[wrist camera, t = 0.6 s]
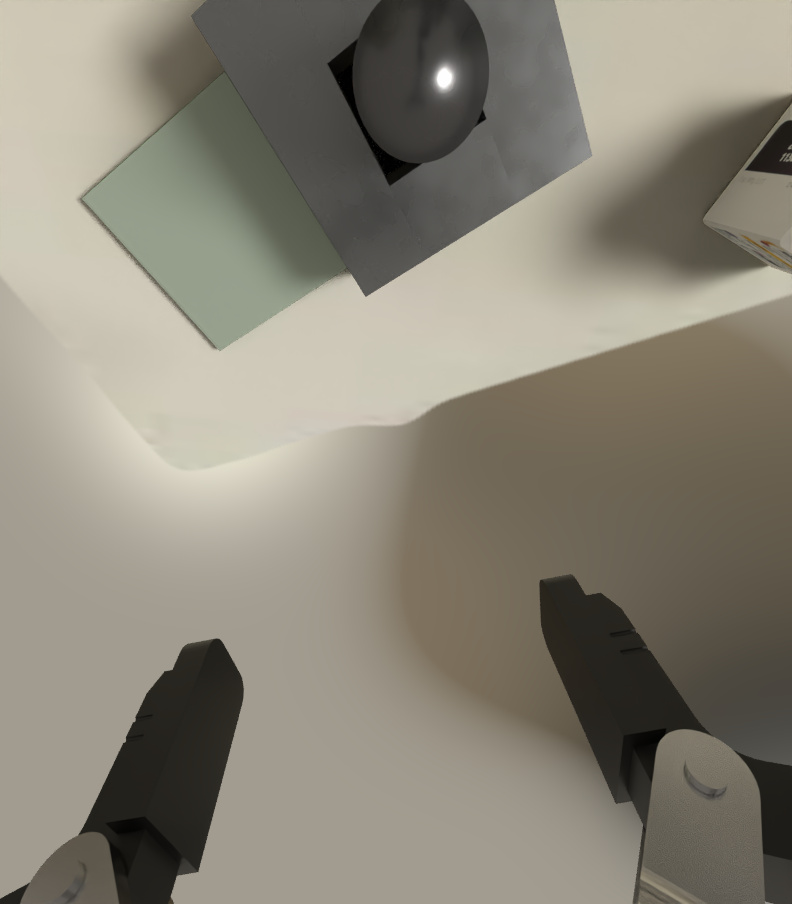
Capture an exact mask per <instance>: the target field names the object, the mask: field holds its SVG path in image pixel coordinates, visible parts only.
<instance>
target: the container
mask: <svg viewBox="0 0 792 904" xmlns="http://www.w3.org/2000/svg"><path fill="white" fill-rule="evenodd" d="M703 222H704V224H705V225H707V226H708V227H710V228H711V229H713V230H714V231H716V232H718V233H719V234H721V235H722V236H724V237H725V238H727V239H729V240H730V241H732V242H733V243H735V244H736V245H738V246H739V247H741V248H743V249H744V250H746V251H747V252H749V253H750V254H752V255H754V256H755V257H757V258H758V259H760V260H761V261H763V262H765V263H766V264H768V265H769V266H771V267H773V268H776V269H779V270H782V271H785V272H787V273H790V274H792V103H791V105H790V106H789V107H788V109H787V110H786V111H785V113H784V114H783V115H782V116H781V118H780V119H779V120H778V122H777V123H776V124H775V125H774V127H773V128H772V129H771V131H770V132H769V133H768V135H767V136H766V137H765V138H764V140H763V141H762V142H761V144H760V145H759V146H758V147H757V149H756V150H755V151H754V153H753V154H752V155H751V157H750V158H749V159H748V160H747V162H746V163H745V164H744V166H743V167H742V168H741V169H740V171H739V172H738V173H737V175H736V176H735V177H734V179H733V180H732V181H731V182H730V184H729V185H728V186H727V188H726V189H725V190H724V191H723V193H722V194H721V195H720V197H719V198H718V199H717V201H716V202H715V203H714V204H713V206H712V207H711V208H710V210H709V211H708V212H707V214H706V215H705V216H704V218H703Z"/></svg>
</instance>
